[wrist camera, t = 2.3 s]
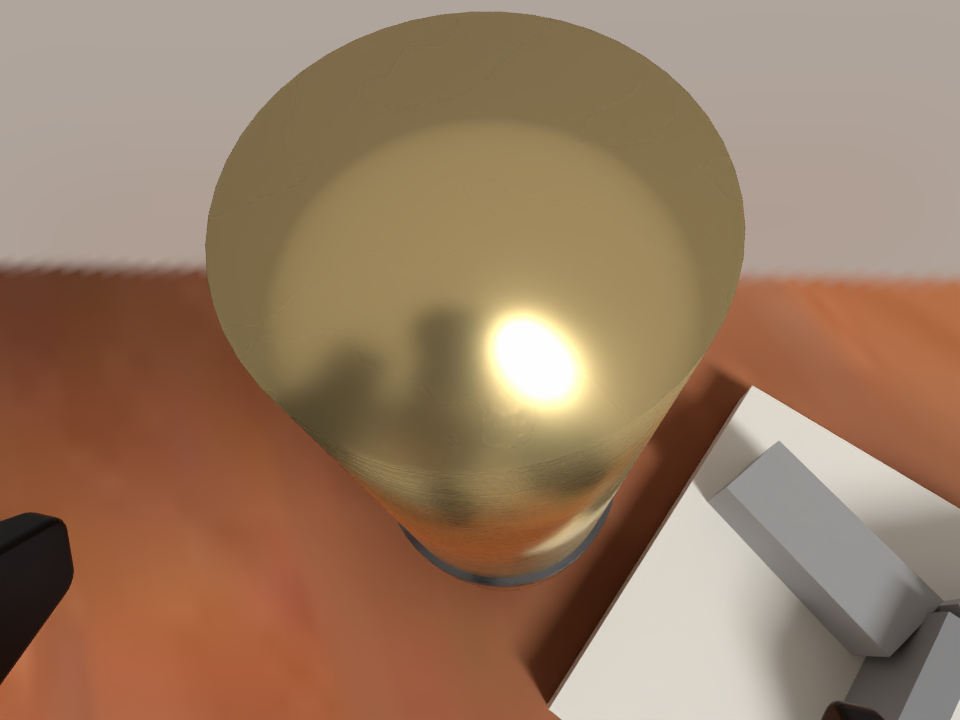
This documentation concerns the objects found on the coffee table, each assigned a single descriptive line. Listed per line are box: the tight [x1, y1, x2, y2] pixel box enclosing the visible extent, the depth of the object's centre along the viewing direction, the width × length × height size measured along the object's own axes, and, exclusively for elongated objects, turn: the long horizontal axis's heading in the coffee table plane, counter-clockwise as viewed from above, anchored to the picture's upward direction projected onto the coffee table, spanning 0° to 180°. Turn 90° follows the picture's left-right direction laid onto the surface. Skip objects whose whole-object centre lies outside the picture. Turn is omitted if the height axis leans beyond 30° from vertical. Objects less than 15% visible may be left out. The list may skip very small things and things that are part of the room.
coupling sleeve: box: [205, 12, 745, 591], centre depth 13 cm, size 5×5×14 cm
